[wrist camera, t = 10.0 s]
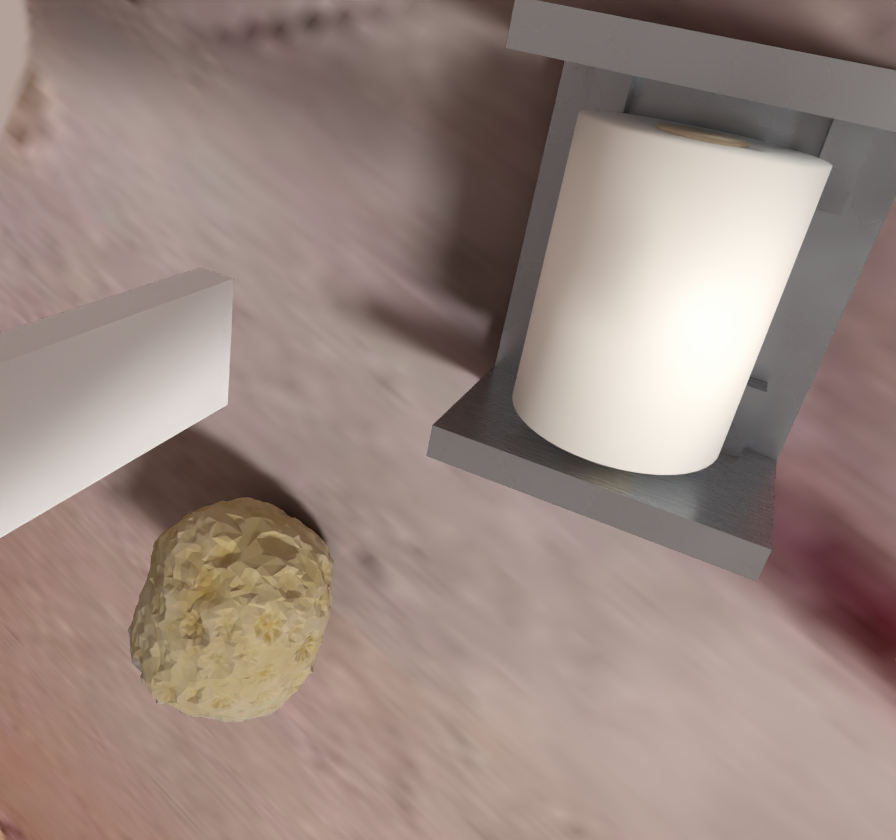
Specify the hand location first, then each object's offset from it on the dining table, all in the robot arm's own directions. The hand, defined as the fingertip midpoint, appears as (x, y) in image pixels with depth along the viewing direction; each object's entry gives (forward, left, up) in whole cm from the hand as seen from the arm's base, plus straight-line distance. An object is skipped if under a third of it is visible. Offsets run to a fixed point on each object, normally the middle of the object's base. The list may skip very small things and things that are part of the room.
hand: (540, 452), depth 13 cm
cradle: (0, 0, -16) cm, 16 cm away
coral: (-14, -20, -17) cm, 29 cm away
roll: (0, 0, -12) cm, 12 cm away
